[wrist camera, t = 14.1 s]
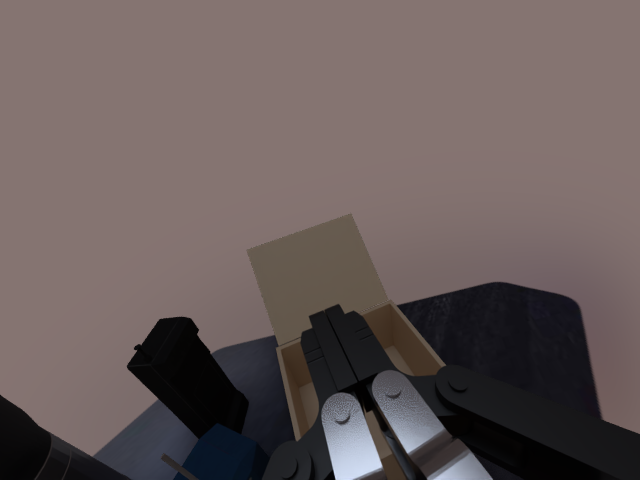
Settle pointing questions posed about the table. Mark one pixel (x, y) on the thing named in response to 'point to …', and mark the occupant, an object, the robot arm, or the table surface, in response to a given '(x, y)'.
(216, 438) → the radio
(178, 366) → the portable radio
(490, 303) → the table surface
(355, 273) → the carton flap
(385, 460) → the kraft carton
